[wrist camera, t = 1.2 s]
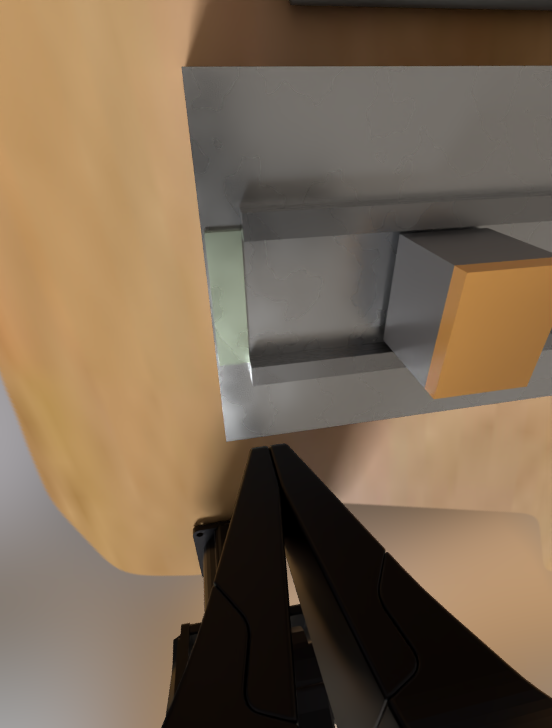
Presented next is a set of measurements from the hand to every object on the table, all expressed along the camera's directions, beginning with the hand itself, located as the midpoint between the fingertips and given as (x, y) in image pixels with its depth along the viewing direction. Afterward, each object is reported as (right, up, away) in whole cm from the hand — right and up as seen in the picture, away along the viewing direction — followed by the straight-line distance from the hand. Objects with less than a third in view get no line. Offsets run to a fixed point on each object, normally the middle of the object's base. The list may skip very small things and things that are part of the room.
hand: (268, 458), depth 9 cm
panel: (+7, +7, +11) cm, 15 cm away
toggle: (+7, +6, +8) cm, 13 cm away
